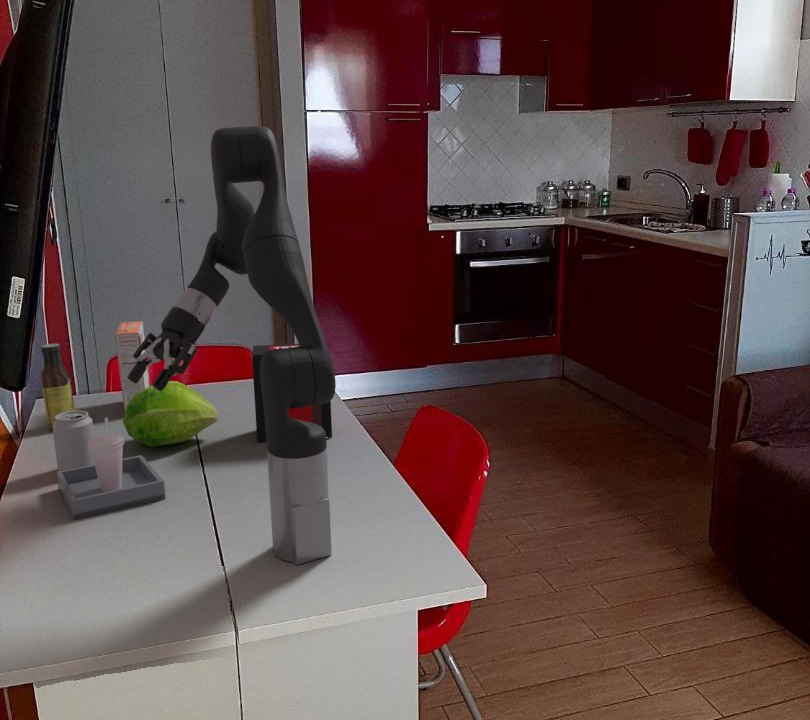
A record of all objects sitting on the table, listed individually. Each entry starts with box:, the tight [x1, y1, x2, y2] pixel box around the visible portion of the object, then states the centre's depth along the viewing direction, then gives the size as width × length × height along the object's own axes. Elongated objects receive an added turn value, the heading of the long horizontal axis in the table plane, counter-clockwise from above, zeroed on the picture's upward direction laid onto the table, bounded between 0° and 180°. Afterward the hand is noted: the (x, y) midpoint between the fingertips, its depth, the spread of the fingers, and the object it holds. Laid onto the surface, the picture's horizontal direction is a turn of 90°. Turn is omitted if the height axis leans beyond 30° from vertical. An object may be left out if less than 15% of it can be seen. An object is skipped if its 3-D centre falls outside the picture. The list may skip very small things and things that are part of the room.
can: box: [52, 410, 95, 472], centre depth 163 cm, size 8×8×12 cm
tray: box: [56, 454, 166, 520], centre depth 152 cm, size 16×16×4 cm
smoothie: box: [88, 416, 125, 492], centre depth 151 cm, size 6×6×14 cm
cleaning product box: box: [251, 342, 333, 444], centre depth 182 cm, size 16×9×20 cm, turn 99°
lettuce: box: [122, 380, 219, 448], centre depth 178 cm, size 15×20×14 cm
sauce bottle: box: [40, 343, 76, 430], centre depth 188 cm, size 7×6×20 cm
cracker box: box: [114, 320, 151, 414], centre depth 203 cm, size 14×6×21 cm, turn 14°
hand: (143, 384), depth 154 cm, fingers open, 8 cm apart
